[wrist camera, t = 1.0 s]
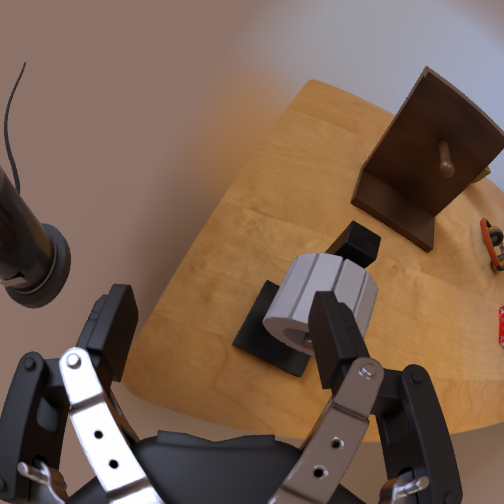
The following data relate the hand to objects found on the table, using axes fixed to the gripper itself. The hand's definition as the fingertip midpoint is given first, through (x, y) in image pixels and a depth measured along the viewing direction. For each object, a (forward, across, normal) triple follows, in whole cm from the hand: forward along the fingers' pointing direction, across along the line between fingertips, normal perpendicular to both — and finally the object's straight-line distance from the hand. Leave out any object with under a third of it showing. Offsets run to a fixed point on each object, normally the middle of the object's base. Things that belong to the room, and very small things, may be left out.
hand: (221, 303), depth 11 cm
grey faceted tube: (+4, -7, +4) cm, 9 cm away
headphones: (+24, -57, +12) cm, 63 cm away
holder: (+11, -6, +14) cm, 19 cm away
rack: (+28, -27, +6) cm, 40 cm away
